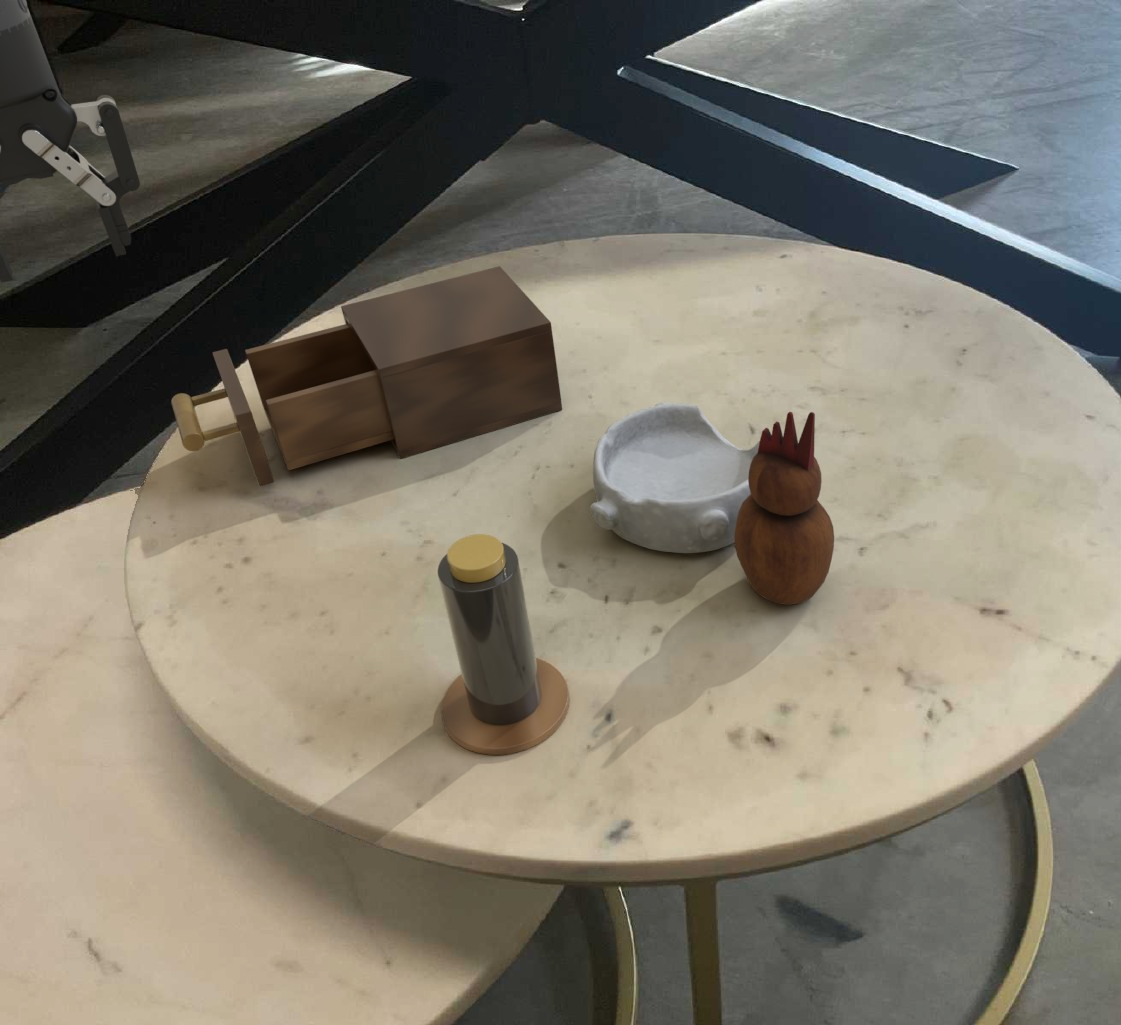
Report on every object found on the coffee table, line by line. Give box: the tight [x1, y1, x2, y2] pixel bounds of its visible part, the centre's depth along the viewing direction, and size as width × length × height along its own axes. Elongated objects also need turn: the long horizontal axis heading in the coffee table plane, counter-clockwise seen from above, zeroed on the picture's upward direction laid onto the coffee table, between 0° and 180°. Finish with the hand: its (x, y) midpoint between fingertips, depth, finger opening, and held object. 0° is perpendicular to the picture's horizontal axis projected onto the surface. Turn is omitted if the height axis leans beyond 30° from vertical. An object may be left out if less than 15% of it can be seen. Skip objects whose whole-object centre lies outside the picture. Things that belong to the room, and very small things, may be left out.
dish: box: [589, 401, 760, 554], centre depth 86 cm, size 14×14×5 cm
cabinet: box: [340, 265, 563, 459], centre depth 99 cm, size 15×13×9 cm
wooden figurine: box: [734, 411, 835, 606], centre depth 75 cm, size 7×6×15 cm
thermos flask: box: [437, 533, 542, 725], centre depth 68 cm, size 5×5×12 cm
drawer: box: [171, 323, 394, 488], centre depth 94 cm, size 18×11×7 cm, turn 117°
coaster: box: [440, 657, 571, 756], centre depth 72 cm, size 8×8×1 cm
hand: (64, 264), depth 81 cm, fingers open, 7 cm apart
